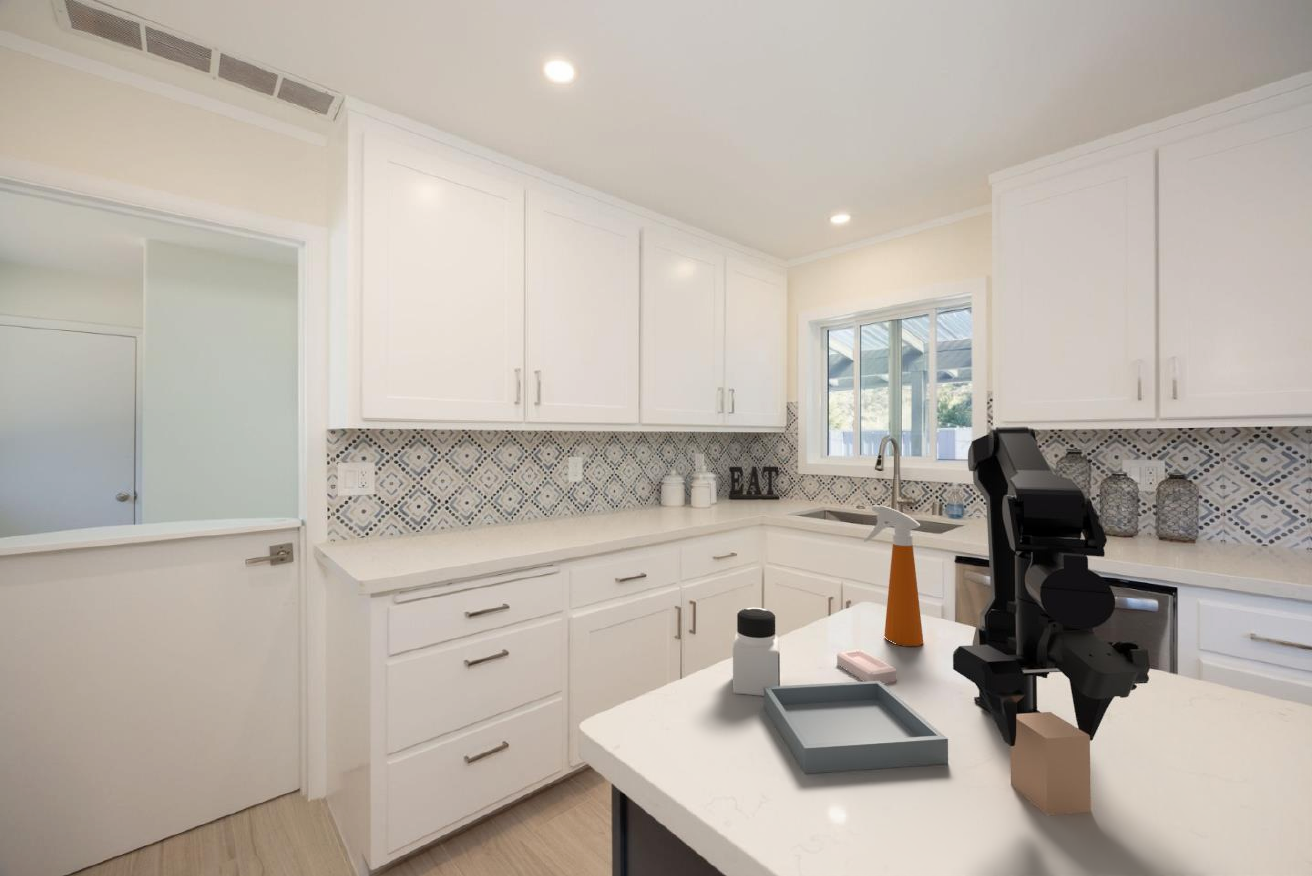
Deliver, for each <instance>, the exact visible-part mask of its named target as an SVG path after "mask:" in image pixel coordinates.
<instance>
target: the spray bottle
mask: <svg viewBox="0 0 1312 876" xmlns="http://www.w3.org/2000/svg"><path fill="white" fill-rule="evenodd" d="M871 511H872V512H874V513H876V514H878V515H877V516H876V520H877V522H876V524H875V525H874V528H873V530H872V531H871V532H870V534H869V535H868V536H867V538H865V539H864V540H863V542H867V541H870V540H872V539H874V538H875V537H876V536H877V535H879V534H880V533H881V532H882V531H883V530H885V529H886V528H888V527H893V528H894V533H893V534H892V546H891V547H892V550H891V559H890V560H891V561H890V571H889V580H888V581H889V583H888V593H887V603H886V614H885V626H884V636H885V637H886V638H887V639H888V640H890V641H892V642H894V643H896V644H899V645H898V646H900V645H905V646H904V647H906V646H915V647H920V646H921V644H922V645H924V634H923V626H922V619H921V618H922V617H921V609H920V600H919V592H918V589H919V588H918V581H917V573H916V564H915V562H916V561H915V555H914V546H913V534H911V532H912V531H911V530H914V529H917V528H919V527H920V526H921V524H920V523H919V522H918V521H917V520H916V519H914V518H912V517H911V516H909V515H908V514H906V513H903V512H901V511H899V510H896V509H894V508H891V507H888V506H885V505H877V504H873V505H872V507H871ZM884 636H883V637H884ZM896 644H895V645H896ZM919 645H920V646H919Z"/></svg>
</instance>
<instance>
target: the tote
mask: <svg viewBox="0 0 1312 876" xmlns="http://www.w3.org/2000/svg"><path fill="white" fill-rule="evenodd" d="M763 708H764V710H765V712H766V713H767V715H768V716H769V718H770V719H771V722H772V723H773V724H774V726H775V728H776V729H777V731H778V733H779V734H780V735H781V737H782V739H783V741H784V742H785V744H786V746H787V747H788V749H789V750H790V752H791V753H792V755H793V757H794V758H795V760H796V761H797V763H798V765H799V766H800V768H801V769H802V771H803V772H804V773H803V774H804V775H809V774H820V773H821V774H822V773H824V774H825V773H836V772H837V773H838V772H849V771H863V770H875V769H877V770H878V769H879V770H880V769H892V768H893V769H894V768H905V767H919V766H921V767H922V766H936V765H946V764H947V765H948V764H949V738H948V737H947V736H945V735H944V733H942V732H940V731H939V730H938V729H937V728H936V727H935V726H934V725H932V723H930V722H929V721H928V720H926V718H924V717H923V716H922V715H921V714H919V713H918V712H917V711H916V710H915V709H914V708H913V707H911V706H910V705H909V704H907V703H906V701H904V700H903V699H902V698H901V697H900V696H898V695H897V694H896V693H895V692H893V691H892V690H891V688H889V687H887V686H886V685H885V683H882V682H881V681H851V682H848V681H846V682H829V683H813V684H812V683H811V684H793V685H791V684H790V685H780V686H771V687H764V696H763Z"/></svg>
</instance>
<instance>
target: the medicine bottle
mask: <svg viewBox="0 0 1312 876" xmlns="http://www.w3.org/2000/svg"><path fill="white" fill-rule="evenodd" d="M736 614H737V615H736V617H737V618H736V620H737V621H736V624H737V626H736V627H737V629H736V631H737V632H736V633H735V634H734V640H733V647H732V691H733V693H734V694H737V695H748V696H761V697H764V687H771V686H781V682H780V681H781V680H780V679H781V676H780V674H781V673H780V672H781V671H780V669H781V668H780V662H781V661H780V658H781V657H780V641H779V640H780V639H779V636H778V635H776V615H775V614H774V613H773V612H772V611H770V610H769V609H767V608H761V607H747V608H744V609H741V610H740V611H739V612H738V613H736Z"/></svg>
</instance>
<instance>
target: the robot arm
mask: <svg viewBox="0 0 1312 876" xmlns="http://www.w3.org/2000/svg"><path fill="white" fill-rule="evenodd" d="M1036 437H1037V436H1036V431H1035V429H1034V428H1029V427H1028V426H997V427H995V428H990V429H989V432H988V434H985V435H983V436H981V437H979V438H976V439H974V440H972V441H971V443H970V446H969V448H968V451H967V467H968V471H969V472H972V476H973V477H972V480H973V484H974V486H975V487H976V488H977V490H978V491H979V492H980V494H981V495H982V496H983V498H984V499H985V504H986V505H985V506H986V523H987V524H986V525H987V544H988V546H987V547H988V561H989V562H988V564H989V582H990V598H989V600H988V602H987V603H986V604H985V606H984V607H983V609H982V610H981V612H980V614H979V625H976V626H975V629H974V635H973V639H972V645H970V644H969V645H959V646H957V648H956V649H955V650H954V651H953V653H952V670H954V671H955V672H957V673H959V674H960V675H961V676H963V677H964V678H966V679H967V680H968V681H970V682H972V683H973V684H974V685H976V687H977V689H978V696H974V698H973V701H974V702H975V703H976V704H978V705H979V706H981V707H983V709H985V710H986V711H988V712H990V714H991V716H992V718H993V720H994V722H995V724H996V726H997V729H998V731H999V733H1000V735H1001V737H1002V739H1003V741H1004V743H1006V744H1007V745H1008V746H1015V740H1016V715H1017V714H1025V713H1041V711H1040V710H1038V680H1037V679H1038V677H1040V678H1042V679H1048V675H1050V673H1062V674H1063V675H1064V676H1065V677H1066V678H1068V681H1069V684H1070V690H1071V691H1070V693H1071V698H1072V704H1073V709H1074V713H1075V721H1076V724H1077V728H1078V729H1080V730H1081V731H1083V732H1085V733H1087V734H1088V735H1090V742H1092V741H1093V740H1094V738H1095V736H1096V733H1097V732H1098V729H1099V727H1100V724H1101V722H1102V721H1103V719H1104V716H1105V715H1106V712H1107V711H1108V708H1109V706H1110V704H1111V703H1112V701H1113V700H1114V698H1115V697H1119V698H1122V699H1123V698H1128V697H1129V696H1130V693H1131V691H1135V690H1136V689H1137V688H1138V686H1137V685H1138V684H1148V682H1149V680H1150V676H1149V675H1148V674H1149V671H1150V667H1151V664H1150V658H1149V650H1148V648H1146V647H1145V646H1143V645H1142V644H1141V643H1140V642H1138V641H1137V640H1120V641H1117V642H1115V643H1114V642H1113V641H1112V640H1111V639H1102V638H1099V637H1098V636H1096V635H1095V633H1094V628H1097V627H1099V626H1101V625H1104V623H1106V622H1107V621H1108V620H1109V619H1110V618H1111V617H1112V616H1113V613H1114V612H1115V606H1116V596H1115V594H1114V593H1113V590H1112V587H1111V586H1110V585H1109V584H1108V582H1107V581H1106V579H1105V578H1103V577H1102V576H1101V575H1099V574H1098V573H1096V572H1094V571H1093V570H1092V569H1091V568H1089V557H1100V558H1101V557H1105V549H1104V548H1105V547H1106V544H1107V541H1108V539H1107V536H1106V533H1105V531H1104V528H1103V526H1102V521H1101V519H1100V517H1099V514H1098V512H1097V509H1096V507H1094V506H1093V502H1092V501H1091V499H1090V498H1089V497H1088V496H1086V495H1085V493H1084V490H1082V489H1081V488H1080V486H1079V485H1077V484H1076V482H1075V481H1073V480H1072V479H1070V478H1067V477H1064V476H1062V475H1061V476H1060V475H1058V474H1055V473H1054V472H1053V470H1052V468H1051V467H1050V464H1049V463H1048V461H1047V459H1046V458H1045V456H1044V454H1043V452H1042V451H1041V449H1040V447H1039V445H1038V442H1039V441H1038V440H1037V439H1036ZM1082 535H1083V538H1084V539H1083V538H1082Z"/></svg>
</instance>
